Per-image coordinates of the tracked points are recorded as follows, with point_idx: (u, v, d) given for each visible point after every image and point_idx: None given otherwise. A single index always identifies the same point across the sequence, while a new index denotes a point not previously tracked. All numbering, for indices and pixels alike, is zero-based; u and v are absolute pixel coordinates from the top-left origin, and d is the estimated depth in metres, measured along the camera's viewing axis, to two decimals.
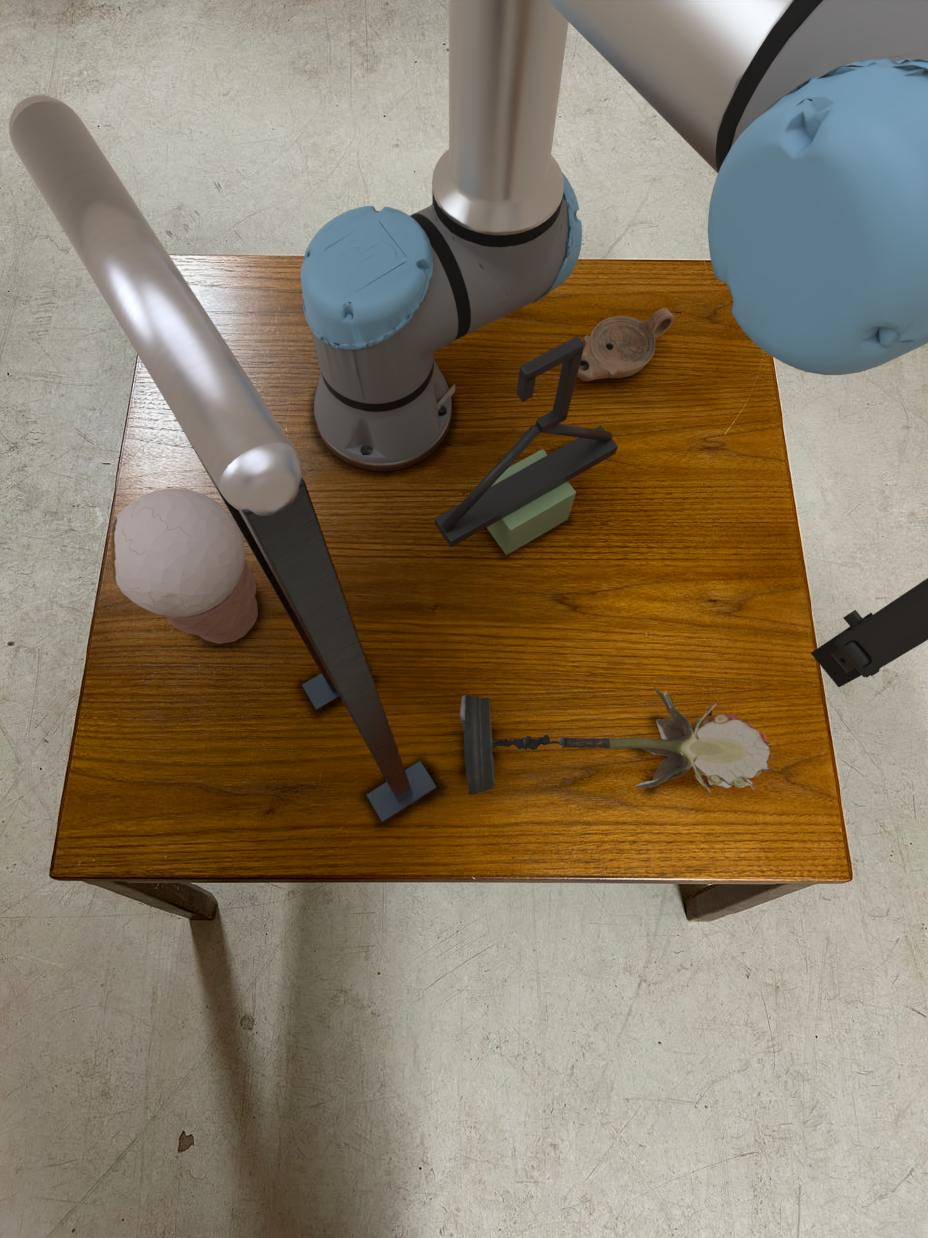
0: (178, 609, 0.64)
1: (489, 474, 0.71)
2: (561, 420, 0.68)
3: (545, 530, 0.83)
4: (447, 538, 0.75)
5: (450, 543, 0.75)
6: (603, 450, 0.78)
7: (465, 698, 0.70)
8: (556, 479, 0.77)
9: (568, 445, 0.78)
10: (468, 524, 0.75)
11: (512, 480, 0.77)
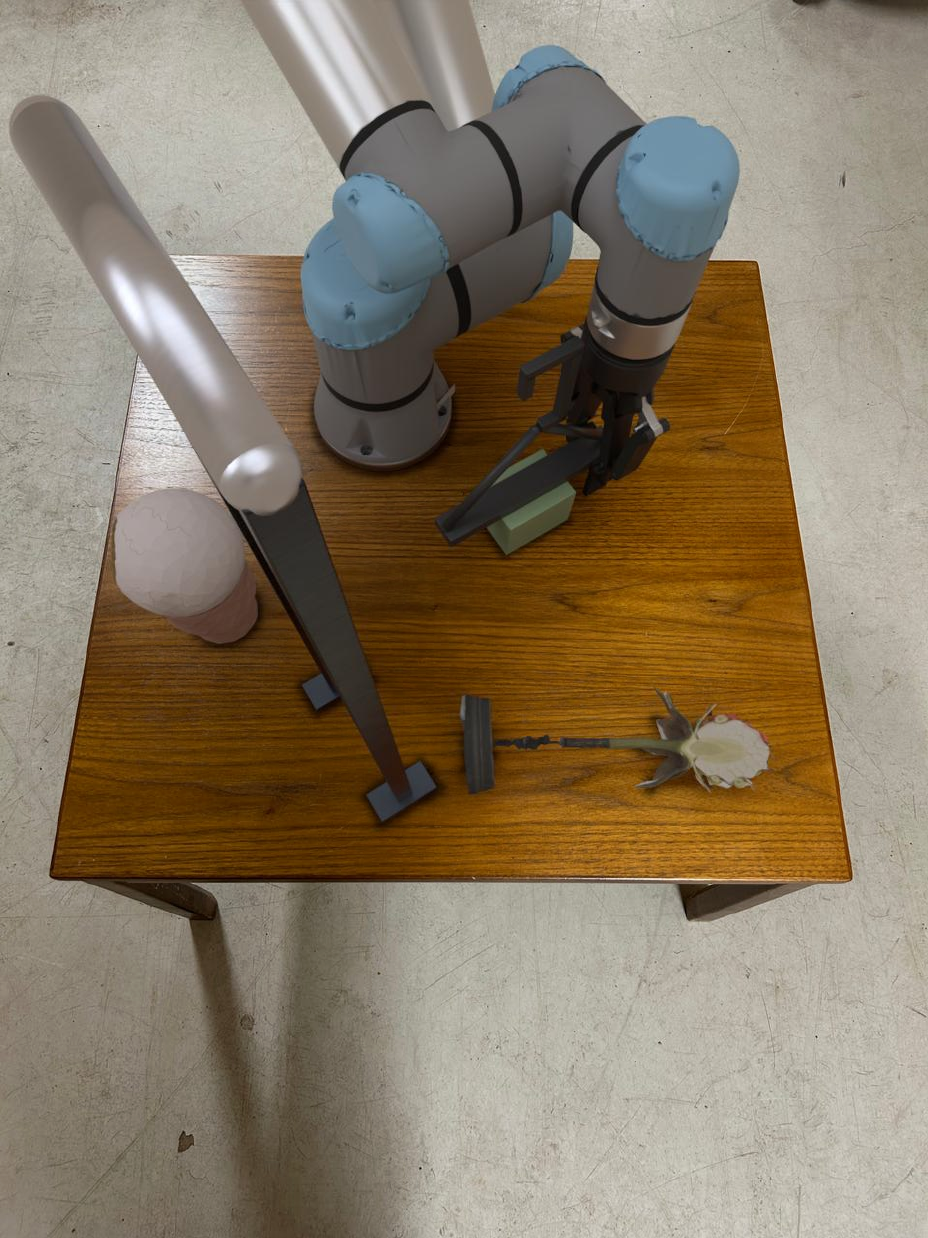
0: (178, 609, 0.64)
1: (489, 474, 0.71)
2: (561, 420, 0.68)
3: (545, 530, 0.83)
4: (447, 538, 0.75)
5: (450, 543, 0.75)
6: None
7: (465, 698, 0.70)
8: (556, 479, 0.77)
9: (568, 445, 0.78)
10: (468, 524, 0.75)
11: (512, 480, 0.77)
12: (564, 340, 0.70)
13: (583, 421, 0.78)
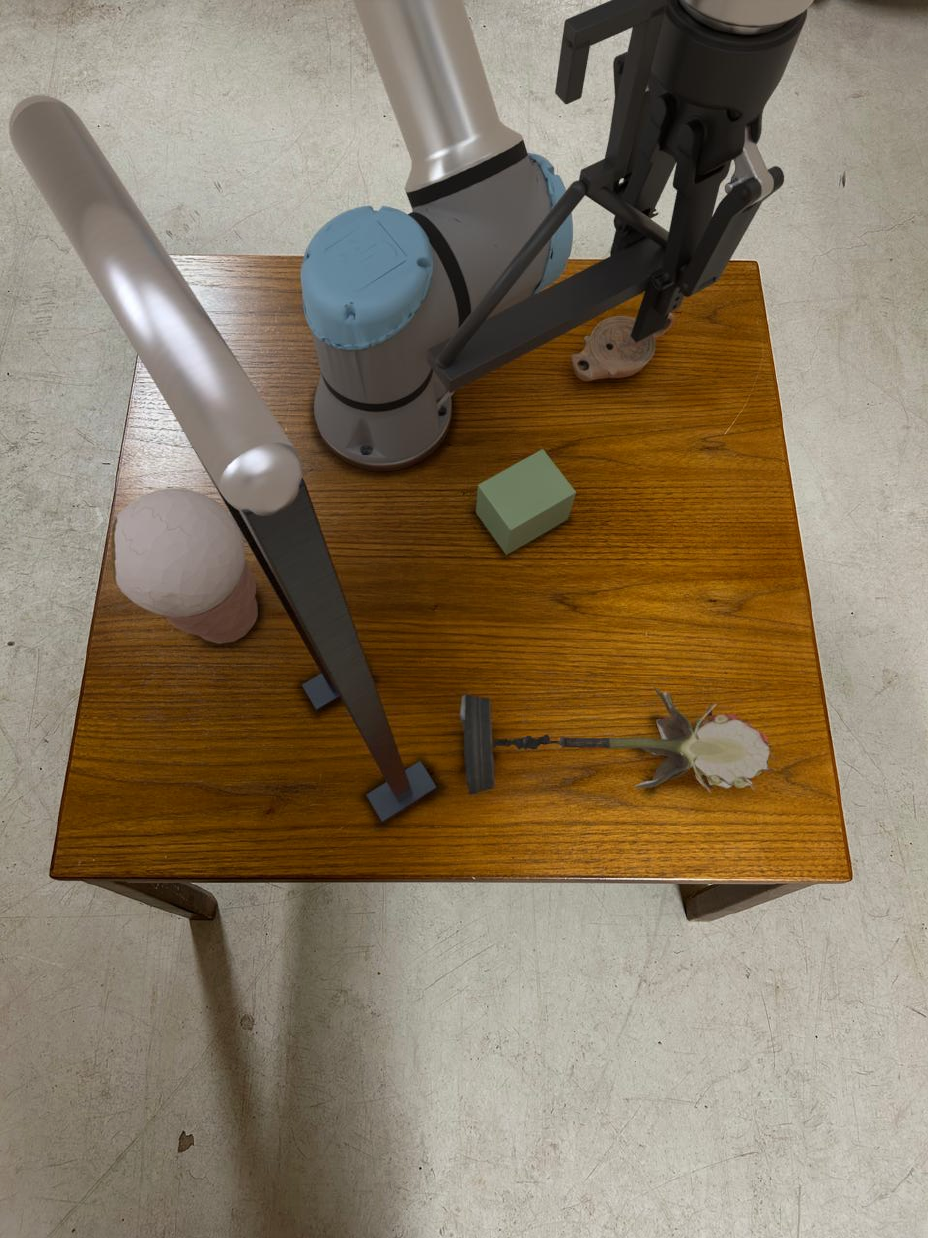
0: (178, 609, 0.64)
1: (507, 268, 0.48)
2: (617, 175, 0.45)
3: (545, 530, 0.83)
4: (445, 377, 0.52)
5: (449, 385, 0.52)
6: None
7: (465, 698, 0.70)
8: (600, 299, 0.54)
9: (617, 255, 0.55)
10: (475, 357, 0.52)
11: (538, 300, 0.54)
12: (620, 64, 0.47)
13: None
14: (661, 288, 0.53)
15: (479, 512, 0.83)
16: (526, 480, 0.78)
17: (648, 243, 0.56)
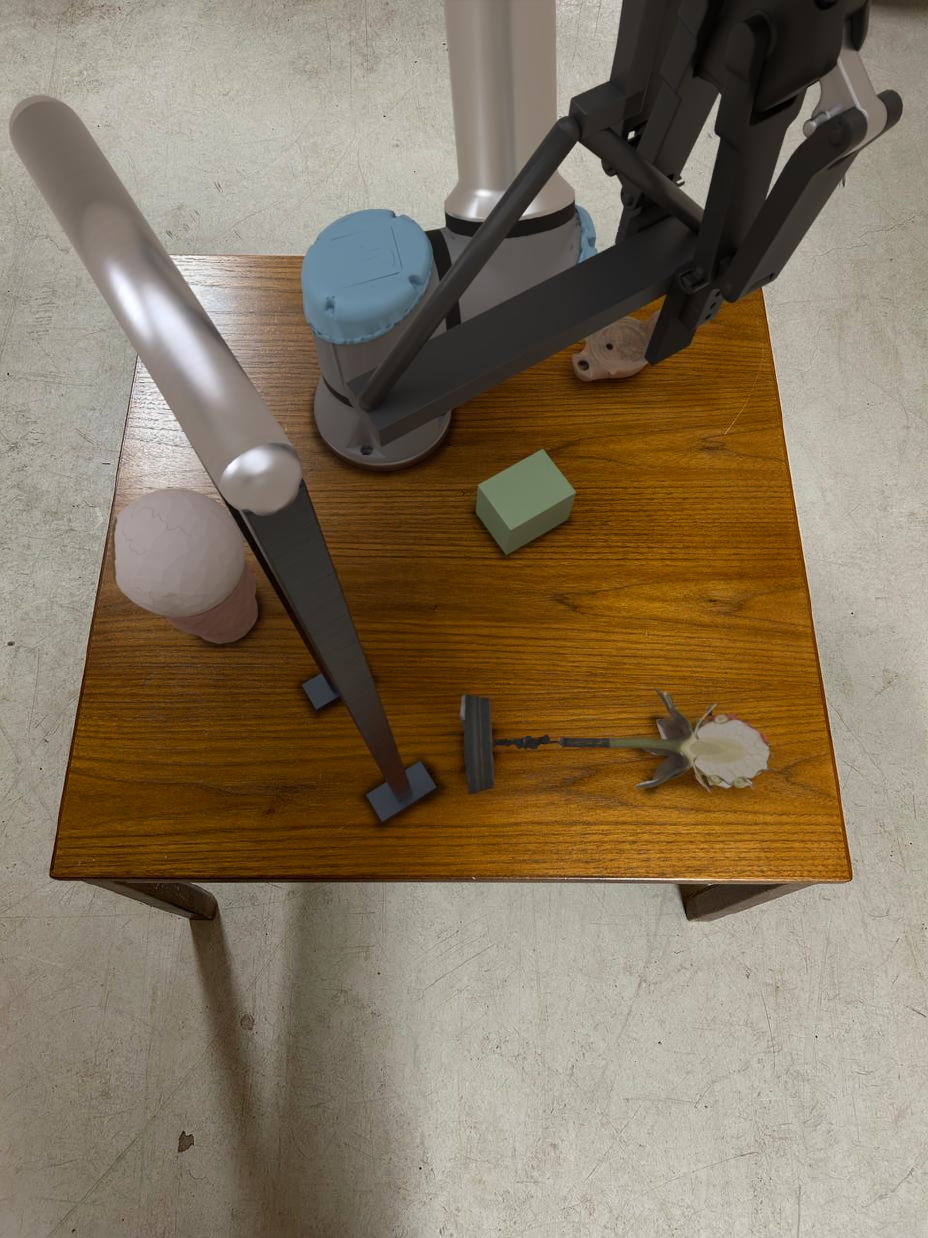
0: (178, 609, 0.64)
1: (458, 260, 0.31)
2: (630, 109, 0.28)
3: (545, 530, 0.83)
4: (372, 425, 0.35)
5: (379, 435, 0.35)
6: None
7: (465, 697, 0.70)
8: (603, 307, 0.37)
9: (626, 242, 0.38)
10: (417, 395, 0.35)
11: (511, 308, 0.37)
12: None
13: None
14: (692, 290, 0.36)
15: (479, 512, 0.83)
16: (526, 480, 0.78)
17: (670, 225, 0.39)
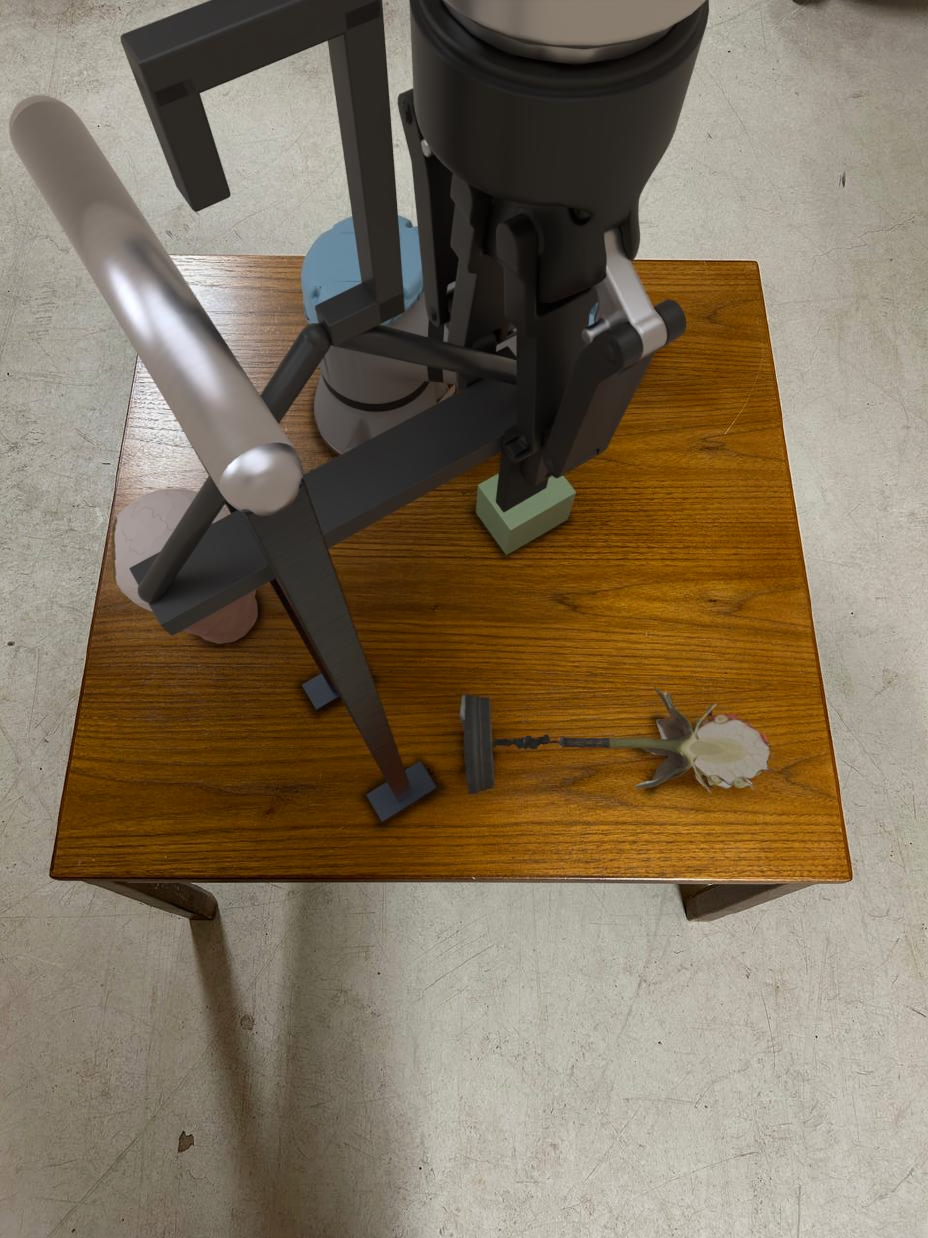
0: None
1: None
2: (388, 312, 0.25)
3: (545, 530, 0.83)
4: None
5: (164, 628, 0.32)
6: None
7: (465, 697, 0.70)
8: (422, 475, 0.34)
9: (454, 399, 0.35)
10: (207, 582, 0.32)
11: (320, 478, 0.34)
12: (406, 109, 0.27)
13: (485, 345, 0.35)
14: (516, 460, 0.33)
15: (479, 512, 0.83)
16: None
17: None
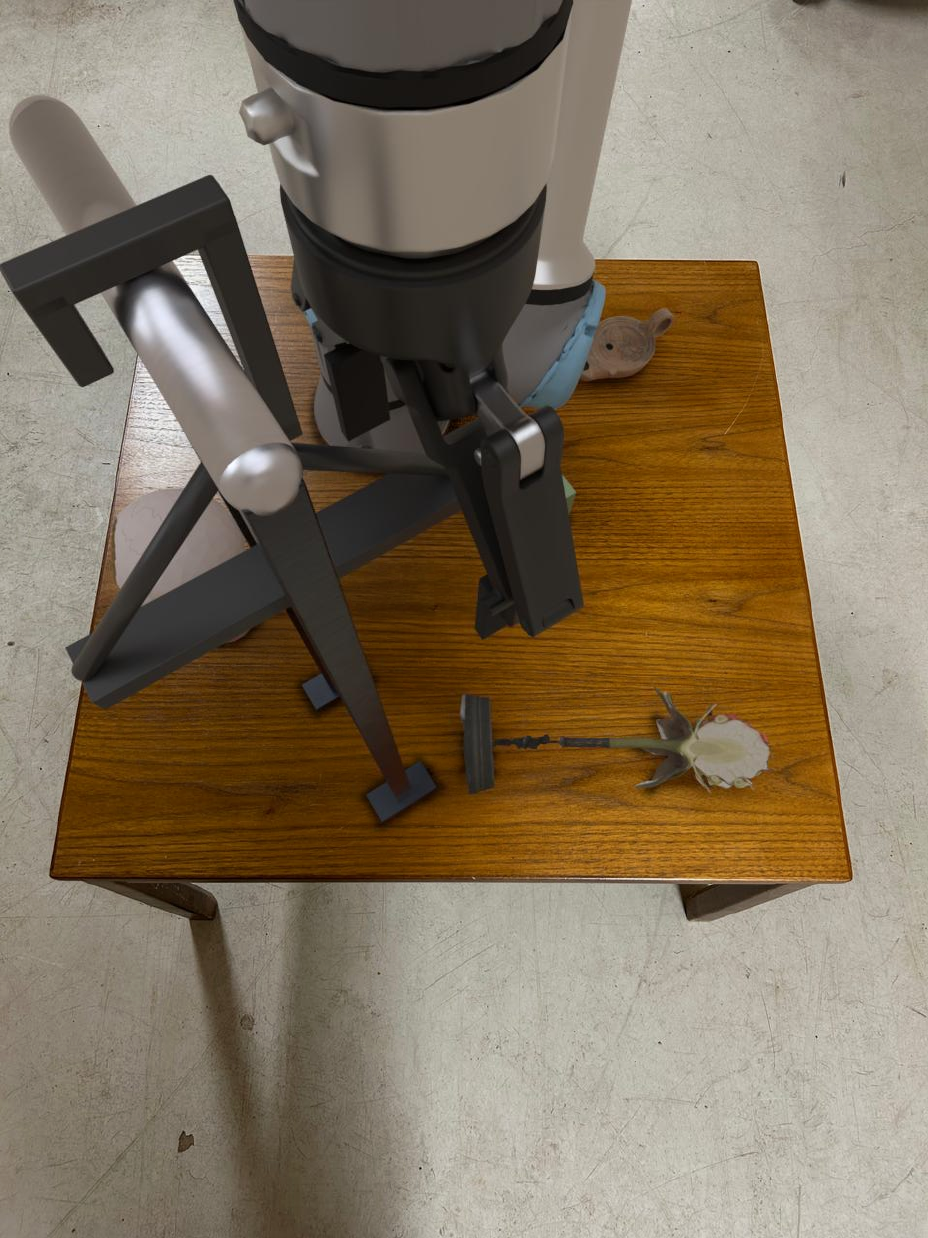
0: None
1: (138, 563, 0.30)
2: None
3: None
4: None
5: (96, 704, 0.34)
6: (448, 496, 0.37)
7: (465, 697, 0.70)
8: (342, 559, 0.36)
9: (375, 485, 0.37)
10: (137, 662, 0.34)
11: (247, 561, 0.36)
12: None
13: None
14: (491, 613, 0.32)
15: None
16: None
17: None
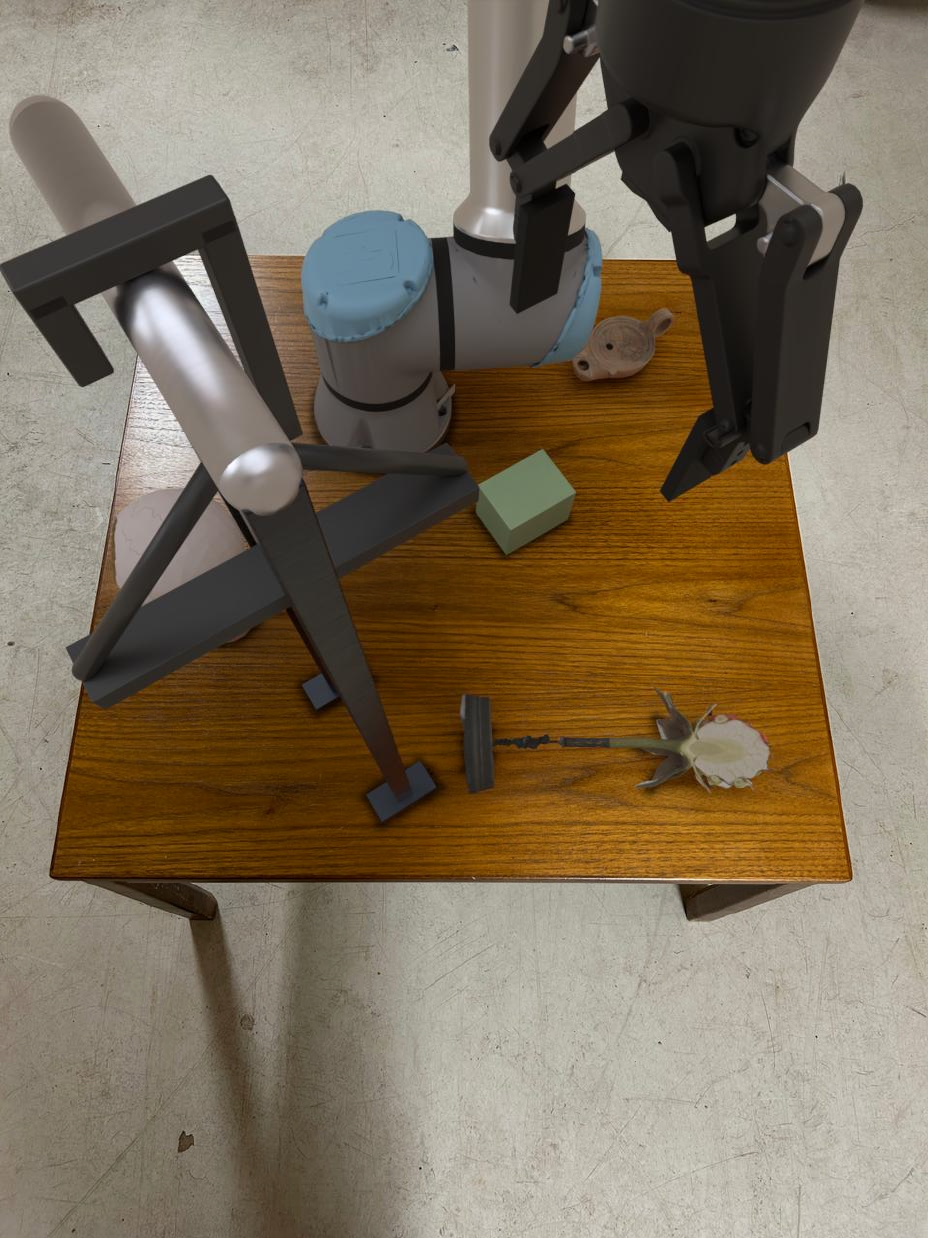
0: None
1: (138, 563, 0.30)
2: None
3: (545, 530, 0.83)
4: None
5: (97, 704, 0.34)
6: (448, 496, 0.37)
7: (465, 697, 0.70)
8: (342, 559, 0.36)
9: (375, 485, 0.37)
10: (137, 662, 0.34)
11: (247, 561, 0.36)
12: (562, 1, 0.27)
13: None
14: (720, 443, 0.31)
15: (479, 512, 0.83)
16: (526, 480, 0.78)
17: None
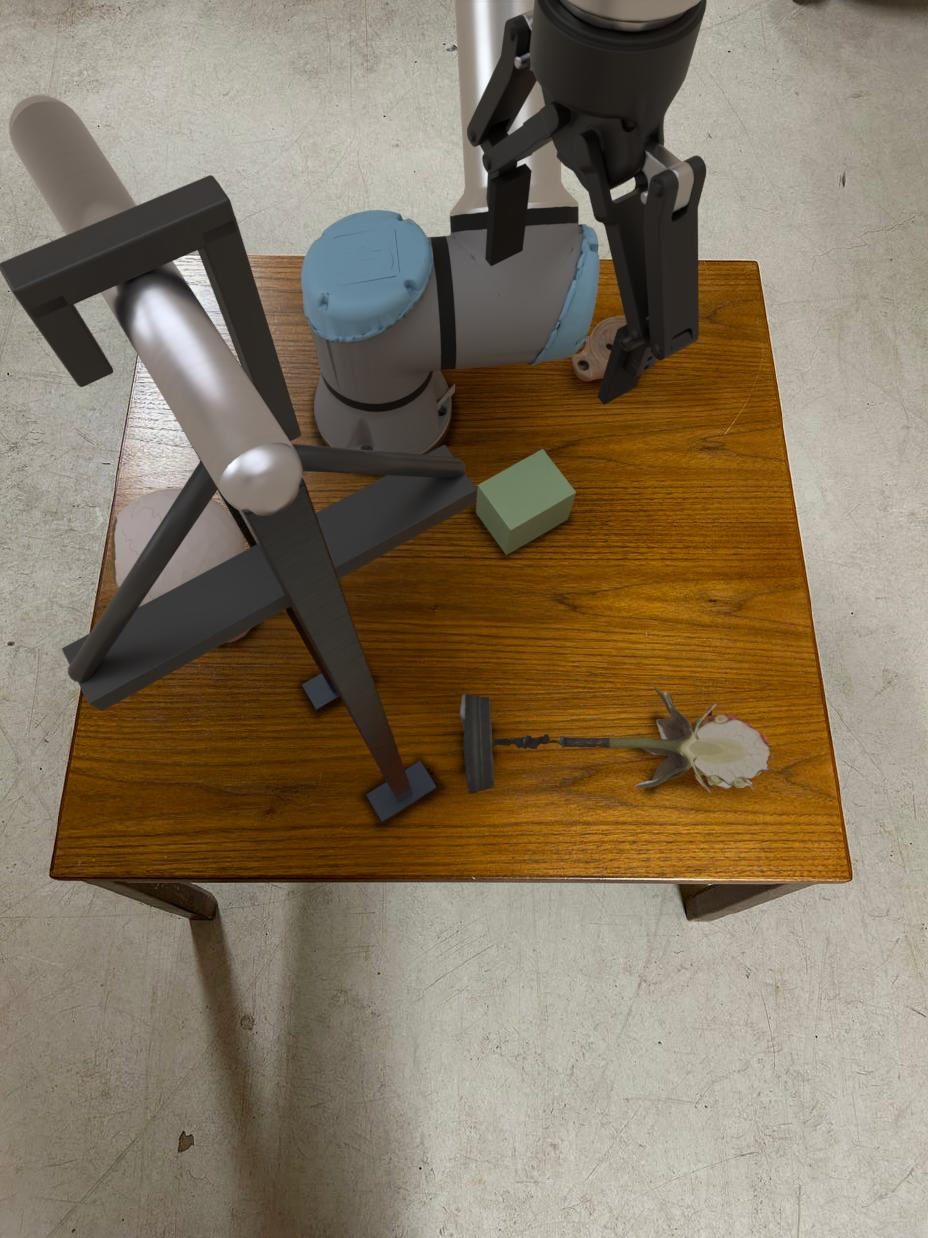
0: None
1: (136, 563, 0.30)
2: None
3: (545, 530, 0.83)
4: None
5: None
6: (446, 497, 0.37)
7: (465, 697, 0.70)
8: (339, 561, 0.36)
9: (373, 487, 0.37)
10: (134, 663, 0.34)
11: (244, 562, 0.36)
12: (512, 33, 0.40)
13: (509, 163, 0.49)
14: (630, 346, 0.44)
15: (479, 512, 0.83)
16: (526, 480, 0.78)
17: None
